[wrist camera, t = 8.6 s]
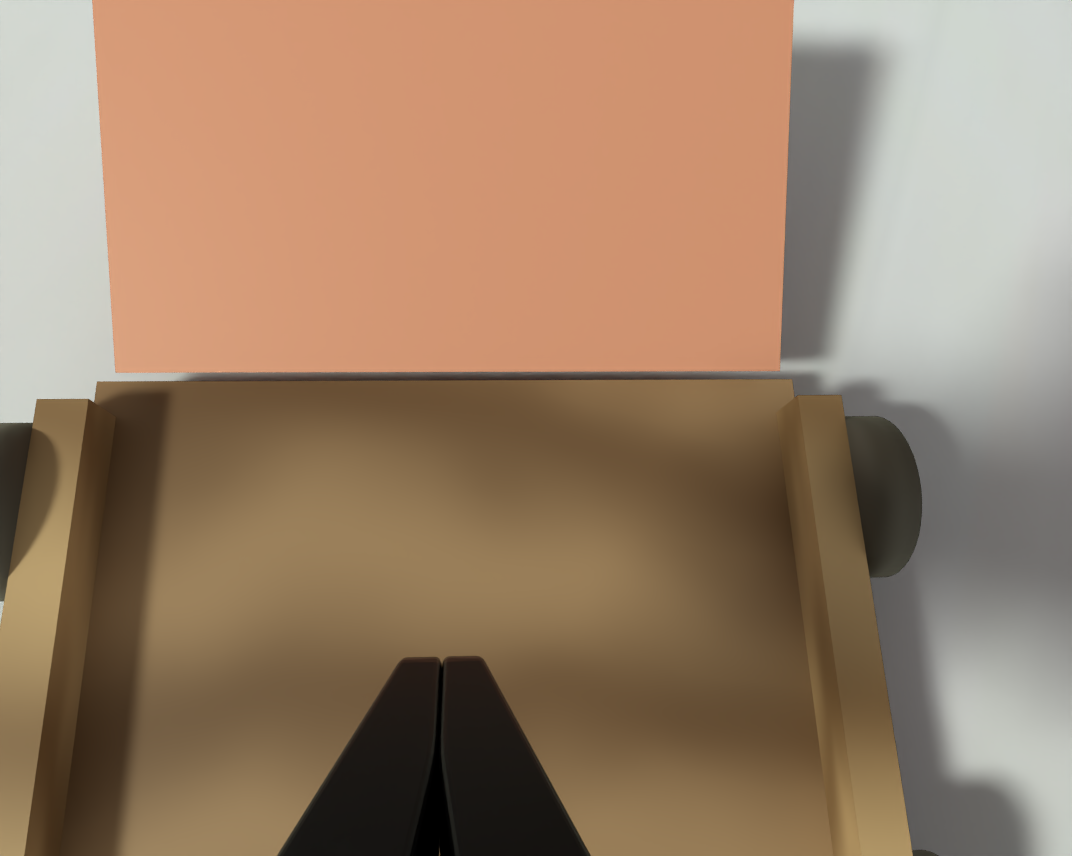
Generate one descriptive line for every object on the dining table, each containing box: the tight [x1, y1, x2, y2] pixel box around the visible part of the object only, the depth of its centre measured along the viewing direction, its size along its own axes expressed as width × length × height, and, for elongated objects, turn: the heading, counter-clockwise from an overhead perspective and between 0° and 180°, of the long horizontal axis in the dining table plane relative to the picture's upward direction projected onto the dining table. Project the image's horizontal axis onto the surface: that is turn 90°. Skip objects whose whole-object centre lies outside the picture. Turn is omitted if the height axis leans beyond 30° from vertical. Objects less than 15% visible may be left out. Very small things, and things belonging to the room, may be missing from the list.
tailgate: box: [92, 0, 794, 373], centre depth 20 cm, size 2×17×11 cm
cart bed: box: [0, 379, 938, 856], centre depth 18 cm, size 18×23×4 cm
